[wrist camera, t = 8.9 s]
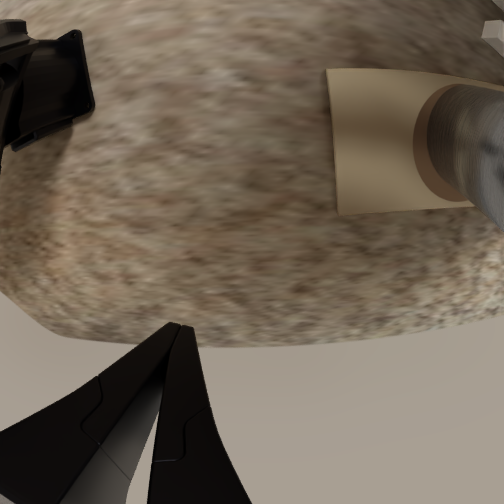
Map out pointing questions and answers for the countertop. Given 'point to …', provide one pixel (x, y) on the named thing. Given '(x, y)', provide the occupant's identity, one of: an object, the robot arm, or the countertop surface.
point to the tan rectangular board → (388, 139)
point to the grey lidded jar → (470, 145)
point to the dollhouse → (495, 31)
